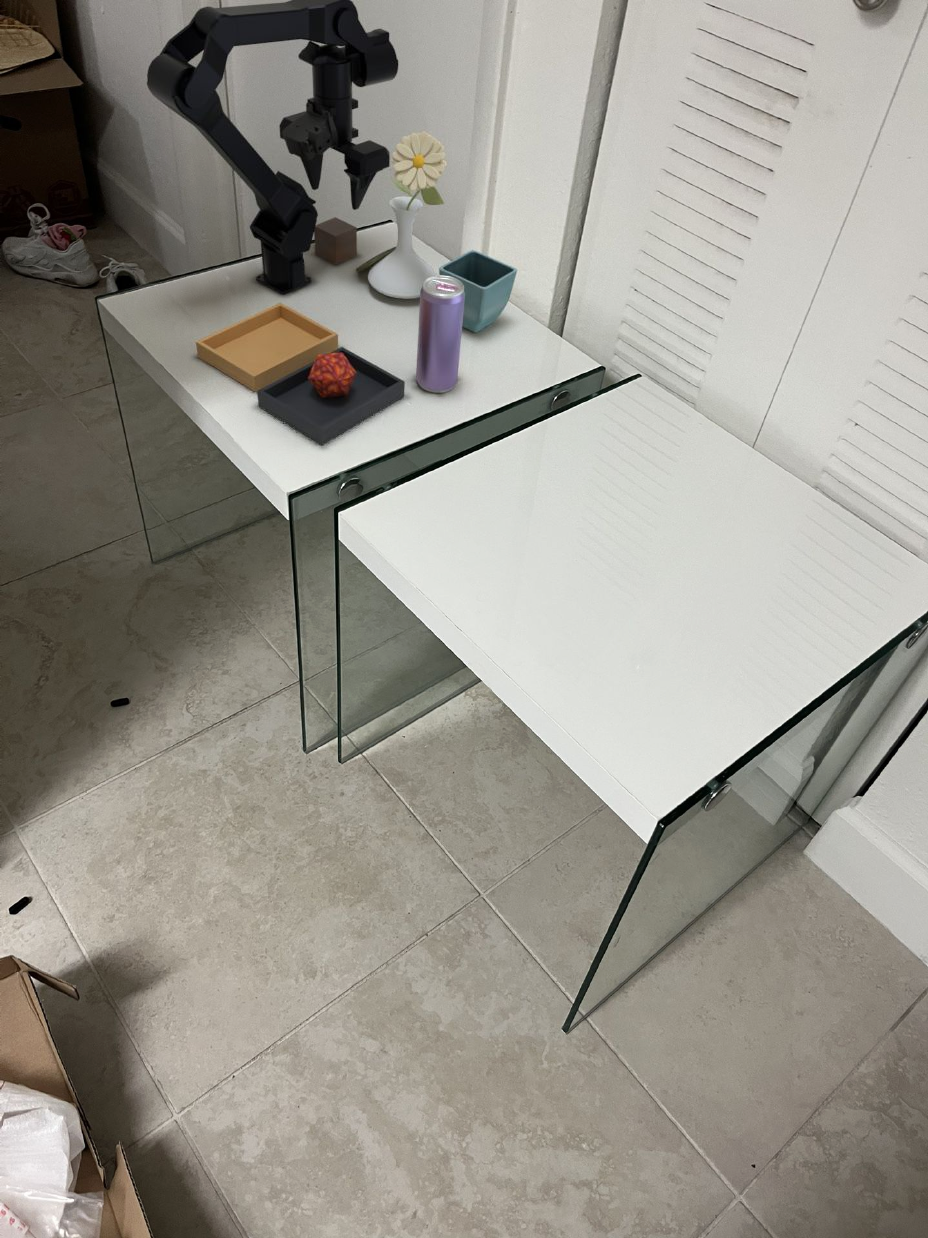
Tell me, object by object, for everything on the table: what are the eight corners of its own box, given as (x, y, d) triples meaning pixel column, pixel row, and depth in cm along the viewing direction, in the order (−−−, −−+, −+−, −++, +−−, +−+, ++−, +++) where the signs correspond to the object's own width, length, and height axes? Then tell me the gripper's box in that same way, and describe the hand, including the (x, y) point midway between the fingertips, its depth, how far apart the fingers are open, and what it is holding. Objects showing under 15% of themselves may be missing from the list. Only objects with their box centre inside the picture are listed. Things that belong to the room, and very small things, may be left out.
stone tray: (258, 406, 129) (256, 390, 127) (342, 361, 138) (342, 346, 136) (321, 445, 124) (321, 429, 122) (404, 396, 133) (404, 381, 131)
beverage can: (452, 397, 134) (460, 299, 123) (411, 390, 134) (416, 292, 123) (460, 375, 138) (469, 278, 127) (421, 368, 138) (426, 271, 127)
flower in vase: (353, 286, 153) (352, 121, 134) (401, 264, 159) (406, 104, 141) (412, 317, 148) (419, 151, 129) (460, 293, 154) (473, 131, 136)
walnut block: (314, 254, 159) (313, 225, 156) (335, 245, 162) (335, 216, 158) (336, 265, 157) (335, 236, 154) (356, 256, 160) (356, 227, 156)
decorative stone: (349, 395, 135) (360, 405, 128) (302, 391, 133) (311, 402, 126) (352, 349, 133) (363, 357, 126) (304, 345, 131) (313, 353, 124)
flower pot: (512, 322, 149) (518, 268, 143) (479, 343, 144) (485, 288, 138) (467, 302, 153) (472, 248, 146) (434, 322, 147) (437, 267, 141)
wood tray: (197, 356, 136) (195, 341, 134) (281, 317, 145) (280, 302, 143) (255, 392, 131) (254, 376, 129) (338, 348, 140) (338, 333, 138)
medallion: (394, 244, 149) (397, 249, 150) (402, 247, 157) (404, 251, 157) (351, 269, 151) (353, 273, 151) (360, 270, 159) (362, 274, 159)
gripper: (247, 85, 138) (256, 192, 149) (337, 124, 130) (339, 234, 142) (304, 69, 144) (309, 174, 155) (393, 106, 137) (391, 213, 148)
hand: (335, 198), depth 150 cm, fingers open, 9 cm apart
